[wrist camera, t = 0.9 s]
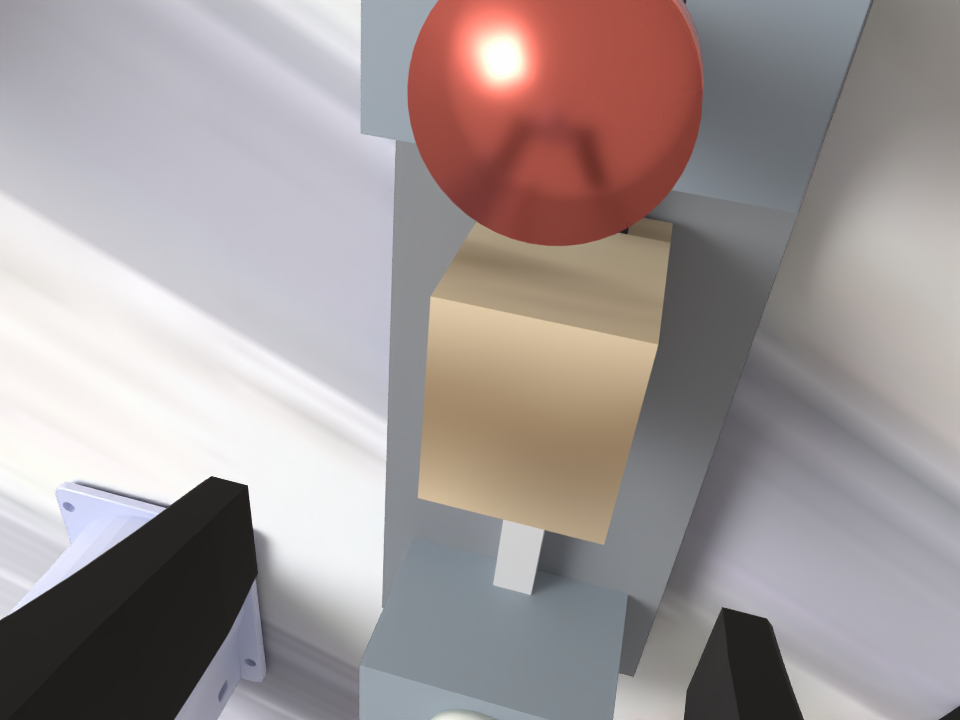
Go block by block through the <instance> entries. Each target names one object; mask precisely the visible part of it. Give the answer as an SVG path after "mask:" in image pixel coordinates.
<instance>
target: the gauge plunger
mask: <svg viewBox="0 0 960 720" xmlns="http://www.w3.org/2000/svg"><path fill="white" fill-rule="evenodd" d="M703 82H704V68H703V55H702V50H701V45H700V41H699V36H698V33H697V30H696V27H695V25H694V22H693V19H692V16H691V14H690V12H689V11H688V9H687V7H686V5H685V3H684V1H683V0H438V2H437V3H436V4H435V6H434V7H433V9H432V10H431V11H430V13H429V15H428V17H427V19H426V20H425V22H424V24H423V26H422V28H421V30H420V33H419V35H418V38H417V41H416V43H415V46H414V49H413V53H412V58H411V62H410V66H409V75H408V85H407V94H408V110H409V117H410V124H411V128H412V131H413V135H414V139H415V142H416V145H417V147H418V150H419V152H420V155H421V157H422V159H423V161H424V163H425V165H426V167H427V169H428V170H429V172H430V174H431V176H432V177H433V178H434V180H435V181H436V183H437V184H438V186H439V187H440V188H441V190H442V191H443V192H444V193H445V194H446V195H447V196H448V197H449V199H450V200H451V201H452V202H453V203H454V204H455V205H456V206H457V207H459V208H460V209H461V210H462V211H463V212H464V213H465V214H467V215H468V216H469V217H471V218H472V219H474V220H475V221H477V222H478V223H480V224H481V225H483V226H485V227H487V228H488V229H490V230H492V231H494V232H496V233H498V234H501V235H503V236H506V237H509V238H511V239H514V240H518V241H522V242H526V243H530V244H537V245H544V246H570V245H579V244H585V243H589V242H593V241H598V240H601V239H603V238H606V237H609V236H612V235H614V234H617V233H619V232H620V231H622V230H624V229H626V228H628V227H630V226H632V225H633V224H635V223H636V222H638V221H639V220H641V219H642V218H643V217H645V216H646V215H647V214H649V213H650V212H651V211H652V210H653V209H654V208H655V207H656V206H657V205H659V204H660V203H661V202H662V200H663V199H664V198H665V197H666V196H667V195H668V193H669V192H670V191H671V190H672V189H673V187H674V186H675V184H676V183H677V181H678V180H679V178H680V176H681V175H682V173H683V172H684V170H685V167H686V165H687V163H688V161H689V159H690V157H691V155H692V152H693V149H694V146H695V143H696V140H697V137H698V132H699V126H700V121H701V115H702V99H703Z"/></svg>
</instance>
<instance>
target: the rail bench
mask: <svg viewBox="0 0 960 720" xmlns="http://www.w3.org/2000/svg"><path fill="white" fill-rule="evenodd" d="M683 1H684V3H685V5H686V7H687V9H688V11H689V12H690V14H691V16H692V19H693V22H694V25H695V27H696V30H697V33H698V36H699V41H700V45H701V50H702V55H703V68H704V82H703V99H702V115H701V121H700V126H699V132H698V137H697V140H696V143H695V146H694V149H693V152H692V155H691V157H690V159H689V161H688V163H687V165H686V167H685V170H684V172H683V173H682V175H681V176H680V178H679V180H678V181H677V183H676V184H675V186H674V187H673V189H672V190H671V191H670V192H669V193H668V195H667V196H666V197H665V198H664V199H663V200H662V202H661V203H660V204H659V205H657V206H656V207H655V208H654V209H653V210H652V211H651V212H650V213H649V214H647V215H646V216H645V217H643V218H648V219H653V220H658V221H664V222H669V223H673V226H672V234H671V242H670V251H669V259H668V268H667V276H666V285H665V293H664V301H663V310H662V318H661V327H660V335H659V344H658V348H657V352H656V355H655V359H654V363H653V366H652V370H651V374H650V377H649V381H648V385H647V388H646V392H645V396H644V400H643V403H642V407H641V411H640V414H639V418H638V422H637V425H636V429H635V433H634V436H633V440H632V444H631V448H630V451H629V455H628V459H627V462H626V466H625V470H624V473H623V477H622V481H621V484H620V488H619V492H618V496H617V499H616V503H615V507H614V510H613V514H612V518H611V521H610V525H609V529H608V532H607V536H606V540H605V544H604V545H602V544H598V543H594V542H590V541H586V540H582V539H578V538H574V537H570V536H566V535H562V534H558V533H555V532H551V531H547V530H543V529H539V528H535V527H531V526H527V525H523V524H519V523H515V522H511V521H507V520H503V519H499V518H495V517H491V516H487V515H483V514H479V513H475V512H471V511H467V510H463V509H459V508H455V507H451V506H447V505H444V504H440V503H436V502H432V501H428V500H424V499H420V498H418V487H419V471H420V455H421V440H422V424H423V408H424V392H425V376H426V361H427V345H428V329H429V313H430V298H431V295H432V293H433V292H434V290H435V288H436V287H437V285H438V283H439V282H440V280H441V278H442V277H443V275H444V274H445V272H446V270H447V269H448V267H449V265H450V264H451V262H452V260H453V259H454V257H455V256H456V254H457V252H458V251H459V249H460V247H461V246H462V244H463V243H464V241H465V239H466V238H467V236H468V234H469V233H470V231H471V229H472V228H473V226H474V225H475V223H476V221H475V220H474V219H472V218H471V217H469V216H468V215H467V214H465V213H464V212H463V211H462V210H461V209H460V208H459V207H457V206H456V205H455V204H454V203H453V202H452V201H451V200H450V199H449V197H448V196H447V195H446V194H445V193H444V192H443V191H442V190H441V188H440V187H439V186H438V184H437V183H436V181H435V180H434V178H433V177H432V176H431V174H430V172H429V170H428V169H427V167H426V165H425V163H424V161H423V159H422V157H421V155H420V152H419V150H418V147H417V145H416V142H415V139H414V135H413V131H412V128H411V124H410V117H409V110H408V94H407V85H408V75H409V66H410V62H411V58H412V53H413V49H414V46H415V43H416V41H417V38H418V35H419V33H420V30H421V28H422V26H423V24H424V22H425V20H426V19H427V17H428V15H429V13H430V11H431V10H432V9H433V7H434V6H435V4H436V3H437V2H438V0H361V134H366V135H372V136H377V137H383V138H388V139H394V140H396V156H395V190H394V224H393V258H392V292H391V325H390V359H389V393H388V427H387V461H386V494H385V528H384V562H383V596H382V608H383V611H382V613H381V615H380V618H379V620H378V622H377V625H376V627H375V629H374V632H373V634H372V636H371V639H370V641H369V643H368V646H367V648H366V650H365V653H364V655H363V657H362V660H361V662H360V664H359V720H613V715H614V707H615V698H616V690H617V682H618V673H622V674H625V675H629V676H633V677H634V675H635V672H636V669H637V666H638V663H639V660H640V658H641V655H642V652H643V649H644V646H645V644H646V641H647V638H648V635H649V632H650V629H651V627H652V624H653V621H654V618H655V615H656V612H657V610H658V607H659V604H660V601H661V598H662V596H663V593H664V590H665V587H666V584H667V581H668V579H669V576H670V573H671V570H672V567H673V565H674V562H675V559H676V556H677V553H678V550H679V548H680V545H681V542H682V539H683V536H684V534H685V531H686V528H687V525H688V522H689V519H690V517H691V514H692V511H693V508H694V505H695V502H696V500H697V497H698V494H699V491H700V488H701V486H702V483H703V480H704V477H705V474H706V471H707V469H708V466H709V463H710V460H711V457H712V455H713V452H714V449H715V446H716V443H717V440H718V438H719V435H720V432H721V429H722V426H723V423H724V421H725V418H726V415H727V412H728V409H729V407H730V404H731V401H732V398H733V395H734V392H735V390H736V387H737V384H738V381H739V378H740V376H741V373H742V370H743V367H744V364H745V361H746V359H747V356H748V353H749V350H750V347H751V345H752V342H753V339H754V336H755V333H756V330H757V328H758V325H759V322H760V319H761V316H762V313H763V311H764V308H765V305H766V302H767V299H768V297H769V294H770V291H771V288H772V285H773V282H774V280H775V277H776V274H777V271H778V268H779V266H780V263H781V260H782V257H783V254H784V251H785V249H786V246H787V243H788V240H789V237H790V234H791V232H792V229H793V226H794V223H795V220H796V218H797V215H798V212H799V209H800V206H801V203H802V201H803V198H804V195H805V192H806V189H807V187H808V184H809V181H810V178H811V175H812V172H813V170H814V167H815V164H816V161H817V158H818V156H819V153H820V150H821V147H822V144H823V141H824V139H825V136H826V133H827V130H828V127H829V124H830V122H831V119H832V116H833V113H834V110H835V108H836V105H837V102H838V99H839V96H840V93H841V91H842V88H843V85H844V82H845V79H846V77H847V74H848V71H849V68H850V65H851V62H852V60H853V57H854V54H855V51H856V48H857V46H858V43H859V40H860V37H861V34H862V31H863V29H864V26H865V23H866V20H867V17H868V14H869V12H870V9H871V6H872V3H873V0H683ZM628 231H629V227H628V228H626V229H624V230H622V231H620V232H619V233H622V234H628Z"/></svg>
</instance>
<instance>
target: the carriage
mask: <svg viewBox="0 0 960 720" xmlns="http://www.w3.org/2000/svg"><path fill="white" fill-rule="evenodd" d="M672 226H673V223H669V222H664V221H658V220H653V219H648V218H642V219H641V220H639V221H638V222H636V223H635V224H633V225H632V226H630V227H629V231H628V234H622V233H617V234H614V235H612V236H609V237H606V238H603V239H601V240H598V241H593V242H589V243H585V244H579V245H570V246H544V245H537V244H530V243H526V242H522V241H518V240H514V239H511V238H509V237H506V236H503V235H501V234H498V233H496V232H494V231H492V230H490V229H488V228H487V227H485V226H483V225H481V224H480V223H478V222H477V221H476V223H475V225H474V226H473V228H472V229H471V231H470V233H469V234H468V236H467V238H466V239H465V241H464V243H463V244H462V246H461V247H460V249H459V251H458V252H457V254H456V256H455V257H454V259H453V260H452V262H451V264H450V265H449V267H448V269H447V270H446V272H445V274H444V275H443V277H442V278H441V280H440V282H439V283H438V285H437V287H436V288H435V290H434V292H433V293H432V295H431V298H430V313H429V329H428V345H427V361H426V376H425V392H424V408H423V424H422V440H421V455H420V471H419V487H418V498H420V499H424V500H428V501H432V502H436V503H440V504H444V505H447V506H451V507H455V508H459V509H463V510H467V511H471V512H475V513H479V514H483V515H487V516H491V517H495V518H499V519H503V520H507V521H511V522H515V523H519V524H523V525H527V526H531V527H535V528H539V529H543V530H547V531H551V532H555V533H558V534H562V535H566V536H570V537H574V538H578V539H582V540H586V541H590V542H594V543H598V544H602V545H604V544H605V540H606V536H607V532H608V529H609V525H610V521H611V518H612V514H613V510H614V507H615V503H616V499H617V496H618V492H619V488H620V484H621V481H622V477H623V473H624V470H625V466H626V462H627V459H628V455H629V451H630V448H631V444H632V440H633V436H634V433H635V429H636V425H637V422H638V418H639V414H640V411H641V407H642V403H643V400H644V396H645V392H646V388H647V385H648V381H649V377H650V374H651V370H652V366H653V363H654V359H655V355H656V352H657V348H658V344H659V335H660V327H661V318H662V310H663V301H664V293H665V285H666V276H667V268H668V259H669V251H670V242H671V234H672Z"/></svg>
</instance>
